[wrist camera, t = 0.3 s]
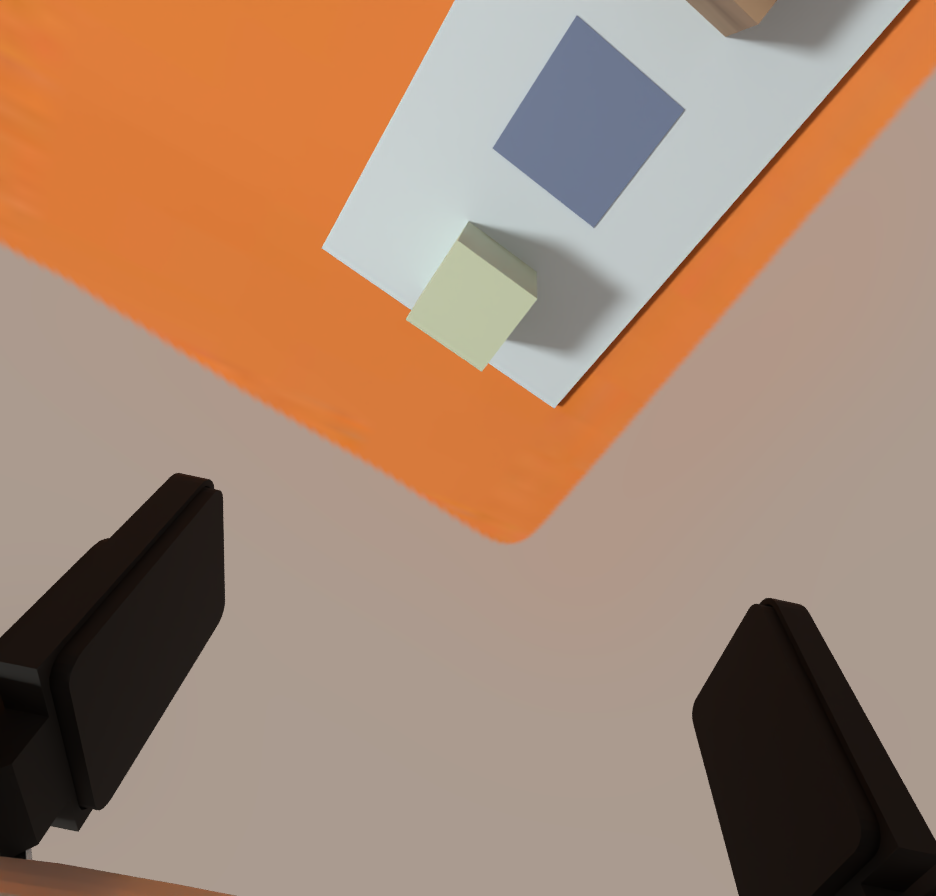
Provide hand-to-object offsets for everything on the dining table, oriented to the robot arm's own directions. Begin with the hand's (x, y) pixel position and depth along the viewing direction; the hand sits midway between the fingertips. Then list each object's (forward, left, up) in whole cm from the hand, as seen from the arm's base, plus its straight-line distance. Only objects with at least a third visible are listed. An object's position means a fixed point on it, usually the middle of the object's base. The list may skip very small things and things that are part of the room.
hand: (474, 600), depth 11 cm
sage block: (+3, 0, -29) cm, 29 cm away
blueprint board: (-7, -3, -30) cm, 31 cm away
